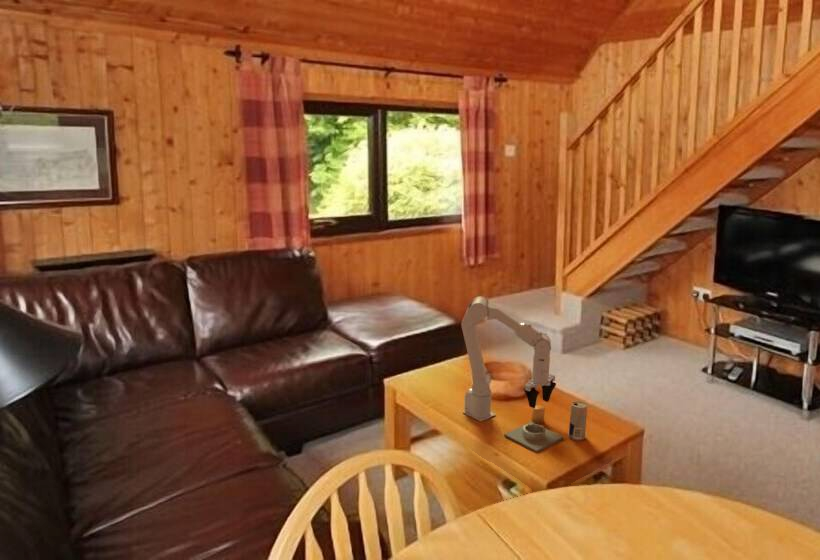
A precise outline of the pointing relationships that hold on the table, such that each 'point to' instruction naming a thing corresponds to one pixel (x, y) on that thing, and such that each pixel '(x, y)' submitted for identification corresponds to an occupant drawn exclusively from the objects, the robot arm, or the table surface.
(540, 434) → the segmented brown ring
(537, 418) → the orange rounded capsule
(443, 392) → the table surface
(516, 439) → the gray board
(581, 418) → the energy drink
